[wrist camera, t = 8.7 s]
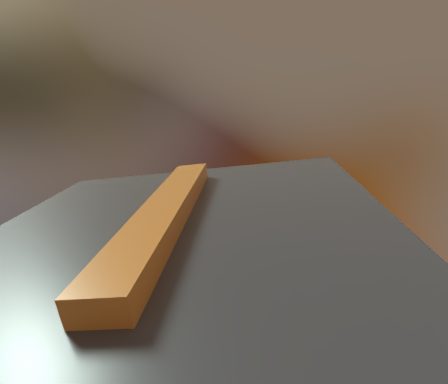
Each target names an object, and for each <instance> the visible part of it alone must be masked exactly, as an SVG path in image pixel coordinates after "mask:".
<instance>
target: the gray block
mask: <svg viewBox="0 0 448 384" xmlns="http://www.w3.org/2000/svg"><path fill="white" fill-rule="evenodd" d="M0 384H448V264H447V263H446V262H445V261H444V260H443V259H442V258H441V257H440V256H439V255H437V254H436V253H435V252H434V251H433V250H432V249H431V248H430V247H429V246H428V245H426V244H425V243H424V242H423V241H422V240H421V239H420V238H419V237H418V236H416V235H415V234H414V233H413V232H412V231H411V230H410V229H409V228H407V226H405V225H404V224H403V223H402V222H401V221H400V220H399V219H398V218H397V217H396V216H394V215H393V214H392V213H391V212H390V211H389V210H388V209H387V208H386V207H384V206H383V205H382V204H381V203H380V202H379V201H378V200H377V199H376V198H374V197H373V196H372V195H371V194H370V193H369V192H368V191H367V190H366V189H365V188H364V187H362V186H361V185H360V184H359V183H358V182H357V181H356V180H355V179H353V178H352V177H351V176H350V175H349V174H348V173H347V172H346V171H345V170H344V169H342V168H341V167H340V166H339V165H338V164H337V163H336V162H335V161H334V160H333V159H332V158H330V157H328V158H316V159H307V160H296V161H286V162H275V163H265V164H255V165H245V166H233V167H224V168H213V169H207V167H206V164H196V165H186V166H178V167H177V168H176V169H175V170H174V171H173V172H171V173H161V174H151V175H141V176H130V177H119V178H110V179H100V180H88V181H80V182H78V183H77V184H75V185H73V186H71V187H69V188H67V189H66V190H64V191H62V192H60V193H58V194H57V195H55V196H53V197H51V198H49V199H47V200H46V201H44V202H42V203H40V204H39V205H37V206H35V207H33V208H31V209H29V210H28V211H26V212H24V213H22V214H20V215H19V216H17V217H15V218H13V219H11V220H10V221H8V222H6V223H4V224H2V225H1V226H0Z"/></svg>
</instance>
